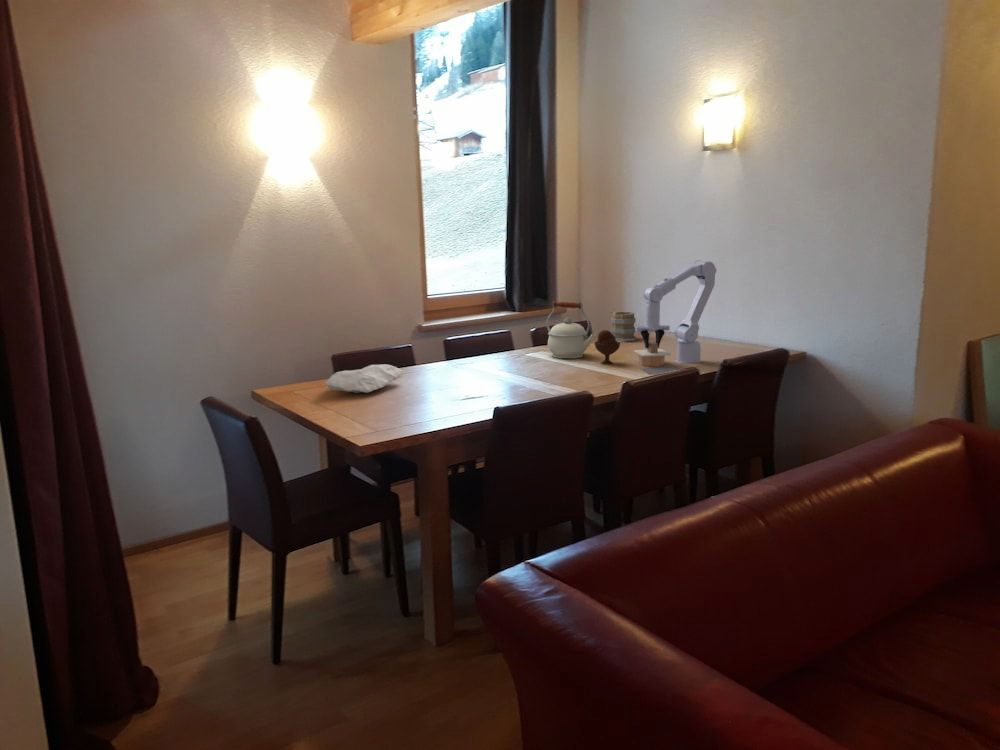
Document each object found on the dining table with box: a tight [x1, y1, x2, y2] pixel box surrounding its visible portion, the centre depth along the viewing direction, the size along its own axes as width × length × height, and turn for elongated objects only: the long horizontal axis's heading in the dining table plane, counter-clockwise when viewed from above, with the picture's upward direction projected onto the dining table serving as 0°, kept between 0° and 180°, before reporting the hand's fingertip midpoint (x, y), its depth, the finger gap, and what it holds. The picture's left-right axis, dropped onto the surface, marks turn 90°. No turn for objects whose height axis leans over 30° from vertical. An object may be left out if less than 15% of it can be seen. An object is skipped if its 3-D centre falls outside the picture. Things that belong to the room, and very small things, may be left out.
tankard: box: [609, 308, 637, 343], centre depth 387 cm, size 20×13×15 cm, turn 16°
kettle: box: [545, 300, 596, 359], centre depth 343 cm, size 25×18×25 cm
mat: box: [639, 366, 681, 376], centre depth 310 cm, size 16×12×1 cm
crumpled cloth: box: [324, 363, 404, 394], centre depth 288 cm, size 24×35×9 cm
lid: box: [633, 341, 672, 357], centre depth 322 cm, size 12×12×5 cm
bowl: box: [638, 354, 665, 367], centre depth 323 cm, size 10×10×5 cm
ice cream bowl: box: [594, 329, 621, 365], centre depth 326 cm, size 11×11×15 cm
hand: (652, 347), depth 322 cm, fingers open, 4 cm apart
